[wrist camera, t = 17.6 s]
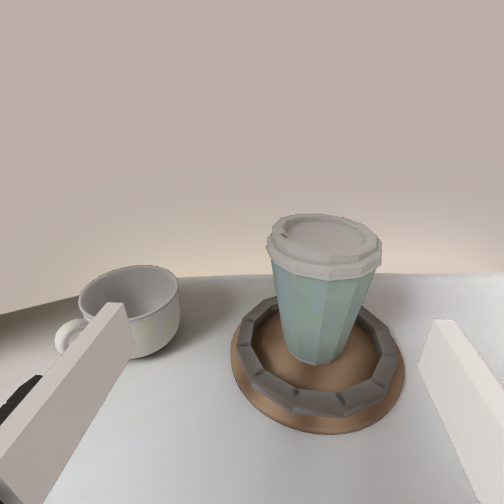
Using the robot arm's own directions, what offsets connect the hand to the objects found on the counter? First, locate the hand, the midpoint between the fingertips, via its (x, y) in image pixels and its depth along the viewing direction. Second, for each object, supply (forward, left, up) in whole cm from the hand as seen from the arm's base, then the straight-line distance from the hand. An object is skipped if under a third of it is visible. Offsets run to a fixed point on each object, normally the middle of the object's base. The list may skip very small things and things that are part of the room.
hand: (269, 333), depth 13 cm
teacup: (-18, +15, -18) cm, 30 cm away
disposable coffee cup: (+4, +16, -17) cm, 23 cm away
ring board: (+4, +16, -17) cm, 24 cm away
